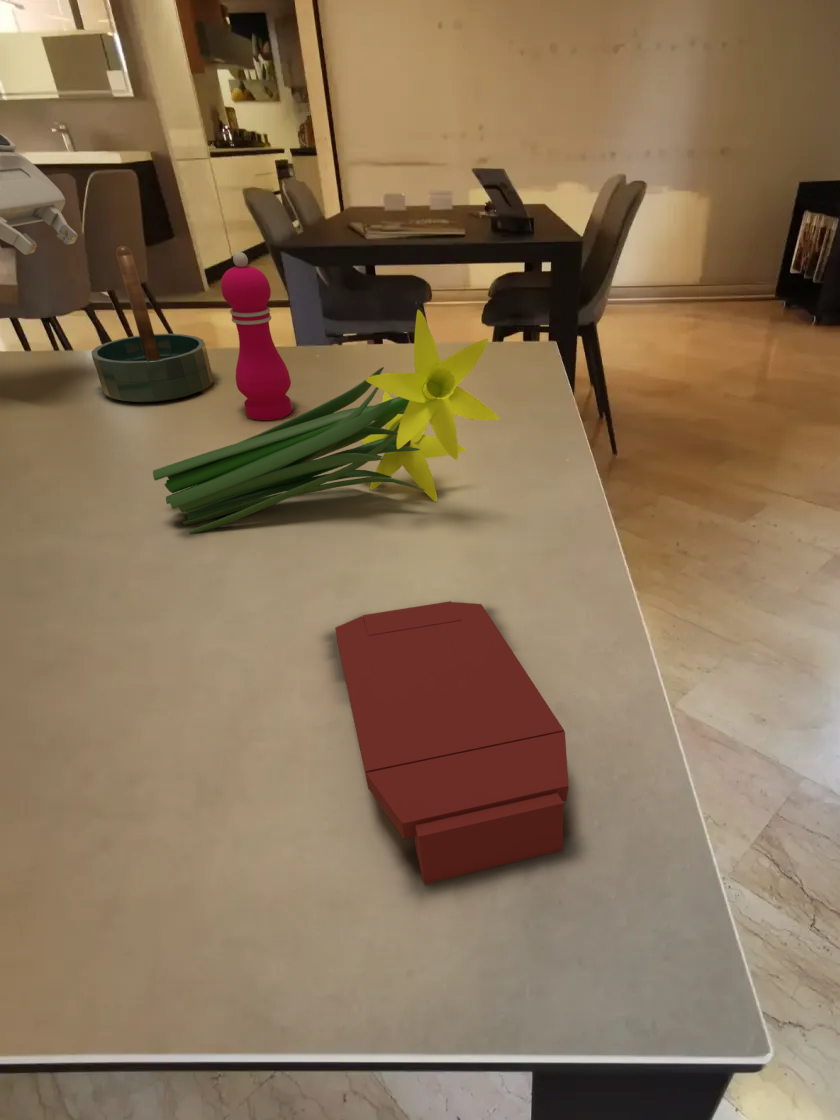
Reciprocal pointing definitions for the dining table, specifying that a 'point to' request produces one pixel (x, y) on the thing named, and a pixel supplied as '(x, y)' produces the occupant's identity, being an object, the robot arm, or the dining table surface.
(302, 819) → the dining table surface
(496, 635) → the carton
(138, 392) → the bowl
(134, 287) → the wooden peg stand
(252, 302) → the pepper mill
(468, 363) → the daffodil flowers
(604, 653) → the dining table surface
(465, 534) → the dining table surface
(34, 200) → the robot arm
